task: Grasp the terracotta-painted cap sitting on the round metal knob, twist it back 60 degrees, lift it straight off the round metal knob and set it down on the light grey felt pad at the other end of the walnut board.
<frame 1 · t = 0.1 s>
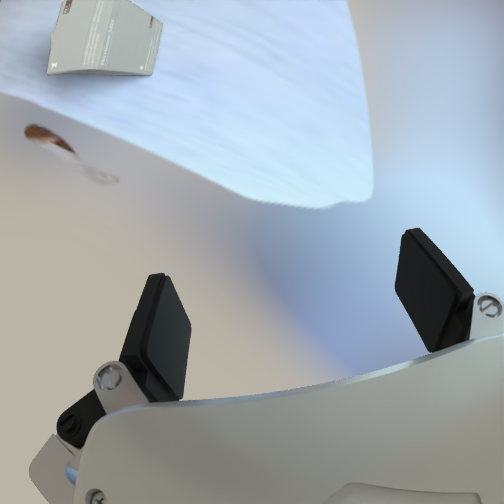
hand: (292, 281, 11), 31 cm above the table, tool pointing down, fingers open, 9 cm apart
skincare box: (135, 47, 29), on the table
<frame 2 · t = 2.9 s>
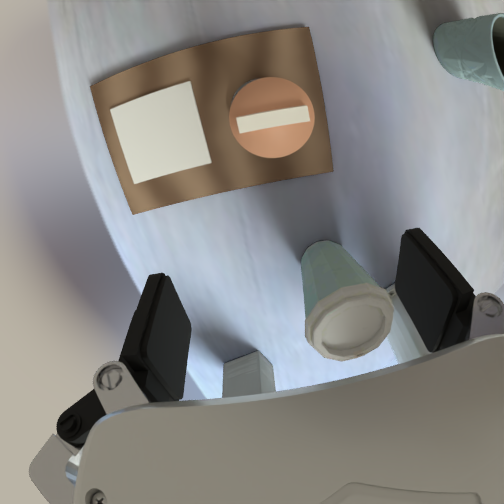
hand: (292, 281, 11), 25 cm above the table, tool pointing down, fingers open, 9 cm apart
board: (210, 118, 30), on the table
skincare box: (248, 362, 54), on the table
pad: (159, 133, 30), resting on board
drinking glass: (455, 51, 24), on the table
cap: (268, 113, 23), point 8 cm above the table, touching round metal knob
disposable coffee cup: (324, 256, 41), on the table
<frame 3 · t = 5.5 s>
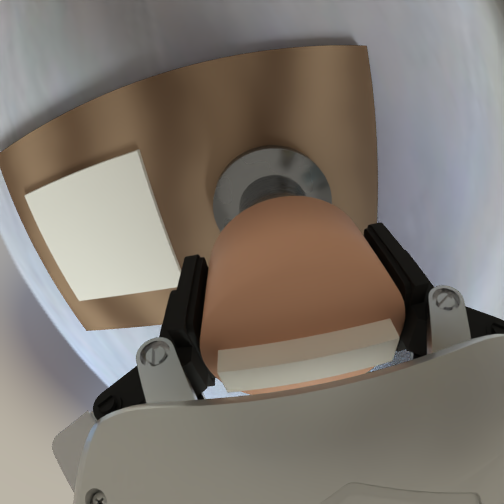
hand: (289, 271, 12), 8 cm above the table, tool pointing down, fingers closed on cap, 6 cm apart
board: (180, 212, 19), on the table
pad: (100, 237, 18), resting on board
cap: (289, 270, 12), point 8 cm above the table, touching gripper, round metal knob
round metal knob: (271, 201, 17), resting on board
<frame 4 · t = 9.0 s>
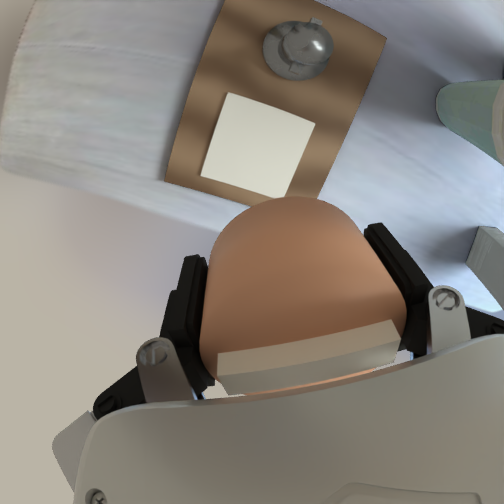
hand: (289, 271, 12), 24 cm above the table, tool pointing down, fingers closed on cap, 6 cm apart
board: (274, 98, 28), on the table
skincare box: (480, 243, 41), on the table
pad: (256, 147, 31), resting on board
cap: (289, 271, 12), point 24 cm above the table, touching gripper
disposable coffee cup: (450, 104, 28), on the table
round metal knob: (295, 51, 24), resting on board
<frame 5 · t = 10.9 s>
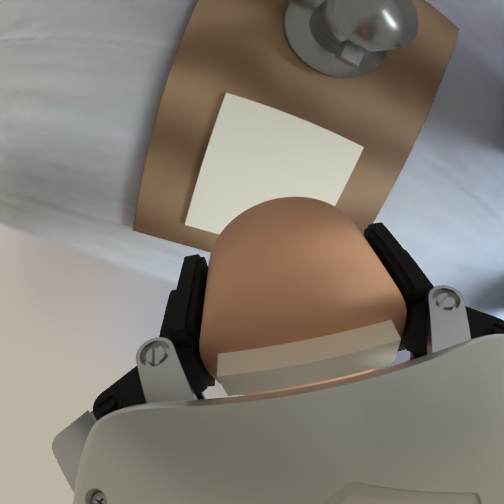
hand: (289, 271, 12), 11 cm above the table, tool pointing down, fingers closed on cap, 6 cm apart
board: (301, 103, 18), on the table
pad: (271, 182, 20), resting on board
cap: (289, 271, 11), point 11 cm above the table, touching gripper
round metal knob: (335, 30, 14), resting on board
when the fingers open (3 cm above the table, at t = 12.7 s): cap drops 2 cm, resting on pad.
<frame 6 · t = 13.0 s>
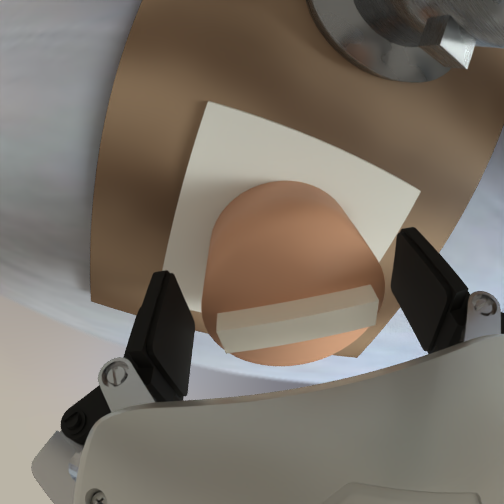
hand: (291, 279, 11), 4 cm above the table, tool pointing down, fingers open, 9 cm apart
board: (331, 119, 11), on the table
pad: (282, 244, 13), resting on board
cap: (282, 248, 13), point 1 cm above the table, touching pad
round metal knob: (387, 6, 7), resting on board
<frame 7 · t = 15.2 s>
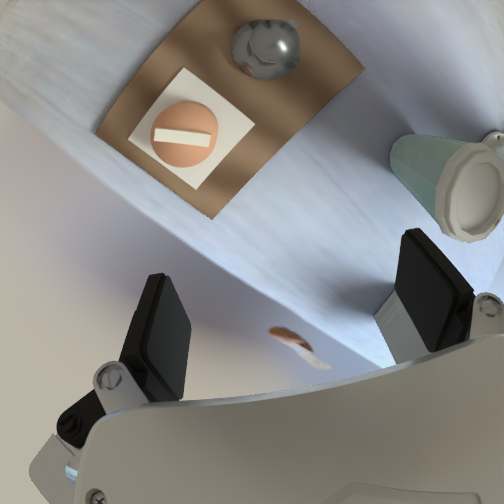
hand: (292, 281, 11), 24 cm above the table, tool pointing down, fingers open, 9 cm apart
board: (226, 87, 27), on the table
skincare box: (395, 301, 48), on the table
pad: (189, 129, 29), resting on board
cap: (188, 129, 28), point 1 cm above the table, touching pad
disposable coffee cup: (408, 154, 33), on the table
round metal knob: (265, 49, 24), resting on board
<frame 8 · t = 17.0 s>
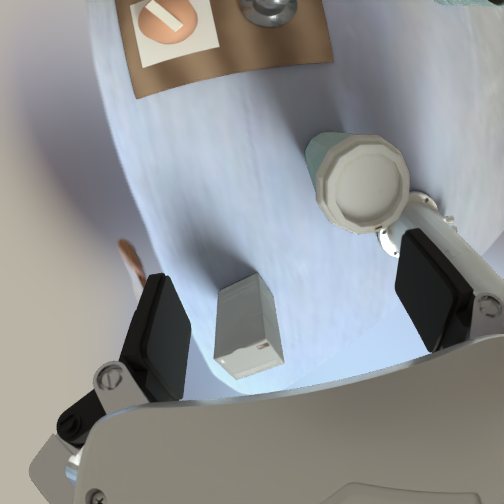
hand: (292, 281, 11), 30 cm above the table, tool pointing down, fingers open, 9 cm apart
board: (220, 13, 27), on the table
skincare box: (246, 290, 51), on the table
pad: (173, 23, 26), resting on board
cap: (172, 22, 26), point 1 cm above the table, touching pad
disposable coffee cup: (328, 152, 38), on the table
round metal knob: (268, 4, 25), resting on board
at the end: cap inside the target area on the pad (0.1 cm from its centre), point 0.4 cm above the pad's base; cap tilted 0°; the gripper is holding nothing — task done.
